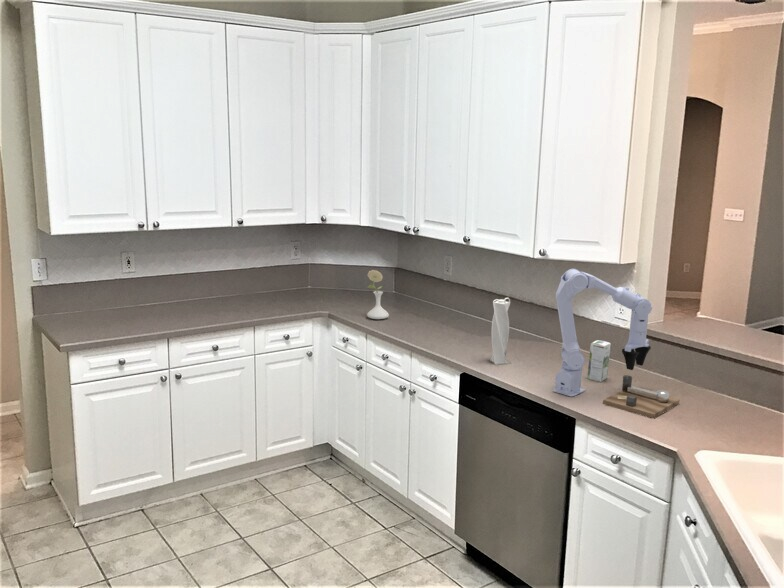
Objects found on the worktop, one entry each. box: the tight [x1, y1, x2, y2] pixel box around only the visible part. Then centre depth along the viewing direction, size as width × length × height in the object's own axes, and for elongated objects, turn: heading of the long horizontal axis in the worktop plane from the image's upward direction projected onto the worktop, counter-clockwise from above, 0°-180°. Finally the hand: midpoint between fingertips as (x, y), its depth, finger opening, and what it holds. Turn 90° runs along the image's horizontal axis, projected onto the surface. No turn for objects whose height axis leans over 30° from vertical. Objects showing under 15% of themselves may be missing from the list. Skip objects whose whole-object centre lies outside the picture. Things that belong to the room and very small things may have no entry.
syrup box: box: [586, 339, 612, 383], centre depth 255 cm, size 6×6×14 cm
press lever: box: [621, 374, 670, 402], centre depth 234 cm, size 4×16×5 cm, turn 45°
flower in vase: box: [366, 269, 390, 320], centre depth 344 cm, size 13×11×25 cm
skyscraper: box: [489, 297, 512, 365], centre depth 273 cm, size 8×8×28 cm
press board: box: [602, 389, 680, 419], centre depth 231 cm, size 20×18×4 cm
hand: (634, 367), depth 241 cm, fingers open, 7 cm apart
